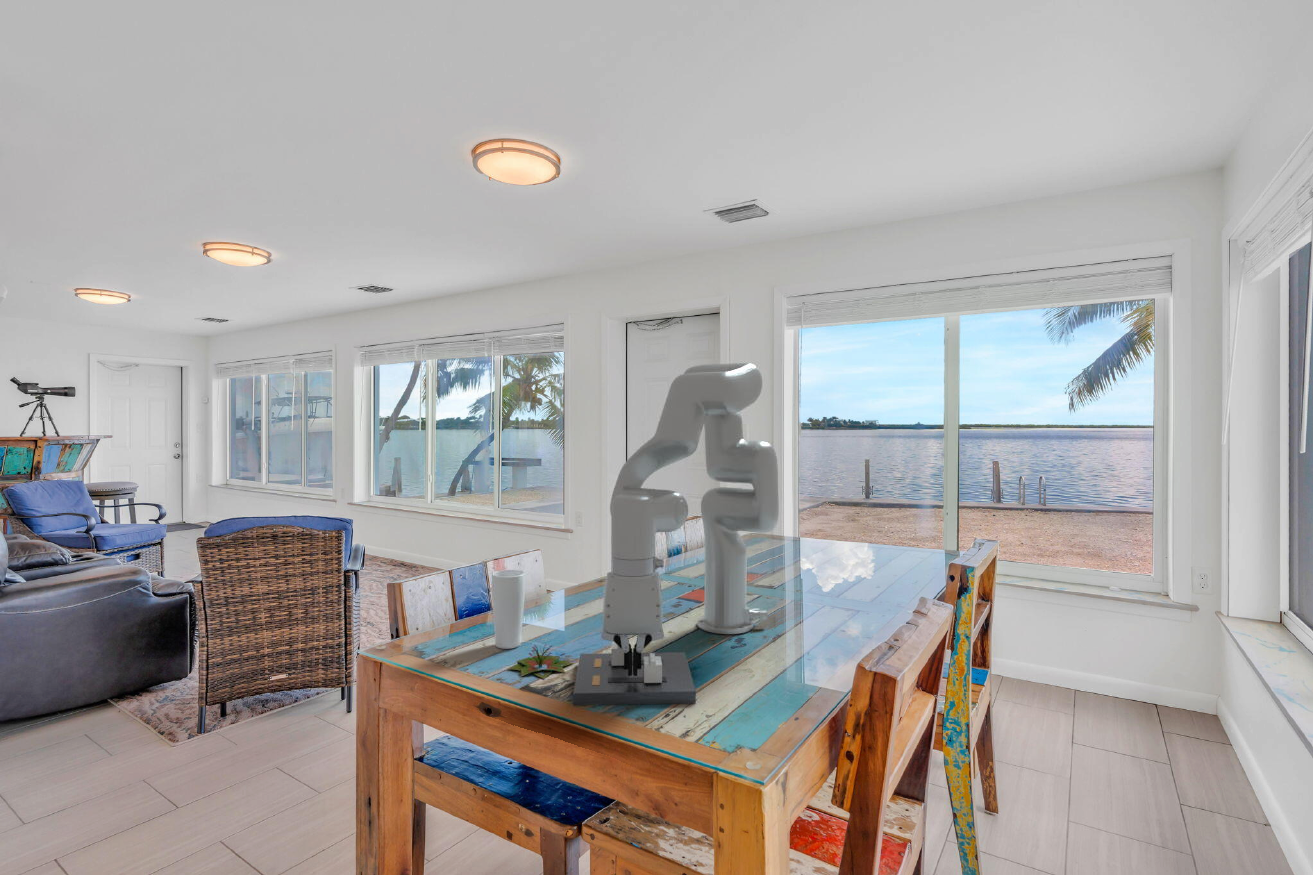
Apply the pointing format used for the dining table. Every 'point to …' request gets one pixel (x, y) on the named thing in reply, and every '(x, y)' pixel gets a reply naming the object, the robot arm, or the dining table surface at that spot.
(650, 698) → the breaker panel
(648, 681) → the block
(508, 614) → the drinking glass
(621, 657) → the breaker
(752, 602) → the dining table surface
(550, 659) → the lily flower
